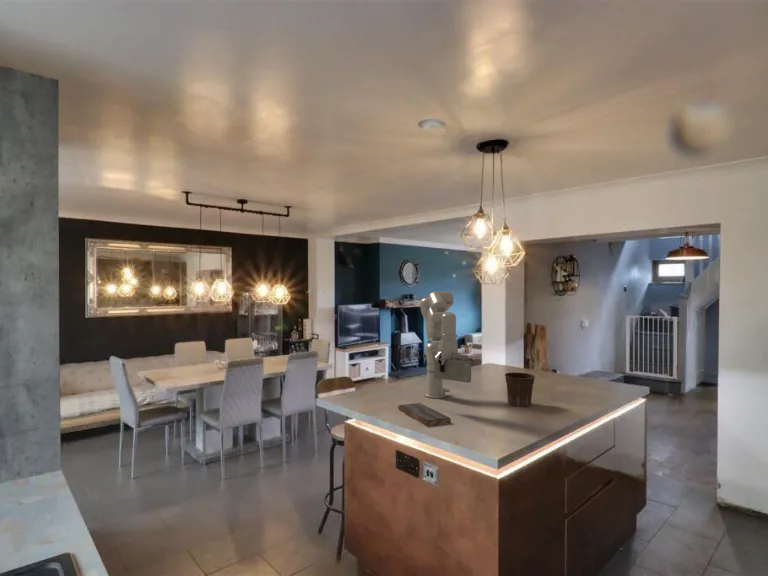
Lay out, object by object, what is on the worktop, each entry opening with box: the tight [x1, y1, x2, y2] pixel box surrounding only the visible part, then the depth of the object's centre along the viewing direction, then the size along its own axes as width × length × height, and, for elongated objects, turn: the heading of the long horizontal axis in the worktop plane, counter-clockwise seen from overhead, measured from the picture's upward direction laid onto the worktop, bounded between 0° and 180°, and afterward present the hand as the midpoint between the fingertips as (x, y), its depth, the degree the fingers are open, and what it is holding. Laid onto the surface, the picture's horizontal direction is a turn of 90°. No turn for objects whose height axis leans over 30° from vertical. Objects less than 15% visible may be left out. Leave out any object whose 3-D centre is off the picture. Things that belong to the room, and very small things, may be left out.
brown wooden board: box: [397, 402, 452, 427], centre depth 218 cm, size 13×30×2 cm, turn 24°
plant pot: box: [504, 372, 536, 408], centre depth 243 cm, size 16×16×16 cm
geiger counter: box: [425, 351, 472, 384], centre depth 229 cm, size 14×6×25 cm
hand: (448, 371), depth 229 cm, fingers closed on geiger counter, 6 cm apart
